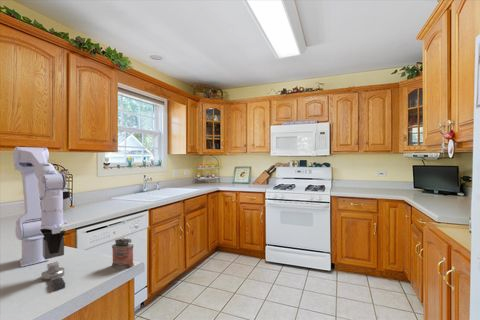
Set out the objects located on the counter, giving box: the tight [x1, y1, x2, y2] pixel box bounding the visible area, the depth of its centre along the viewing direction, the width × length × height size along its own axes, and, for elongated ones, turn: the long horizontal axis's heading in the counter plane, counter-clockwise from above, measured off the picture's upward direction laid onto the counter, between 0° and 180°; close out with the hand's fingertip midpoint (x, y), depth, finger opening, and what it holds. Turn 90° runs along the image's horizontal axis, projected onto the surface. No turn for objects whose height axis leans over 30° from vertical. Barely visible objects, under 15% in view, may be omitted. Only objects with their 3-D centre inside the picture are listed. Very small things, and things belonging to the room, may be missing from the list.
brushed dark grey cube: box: [43, 236, 65, 260], centre depth 80 cm, size 5×5×6 cm
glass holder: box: [63, 191, 72, 213], centre depth 184 cm, size 9×14×15 cm, turn 166°
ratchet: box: [41, 261, 66, 292], centre depth 76 cm, size 15×6×4 cm, turn 45°
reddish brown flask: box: [111, 237, 135, 269], centre depth 87 cm, size 8×3×10 cm, turn 80°
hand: (52, 250), depth 80 cm, fingers closed on brushed dark grey cube, 5 cm apart
